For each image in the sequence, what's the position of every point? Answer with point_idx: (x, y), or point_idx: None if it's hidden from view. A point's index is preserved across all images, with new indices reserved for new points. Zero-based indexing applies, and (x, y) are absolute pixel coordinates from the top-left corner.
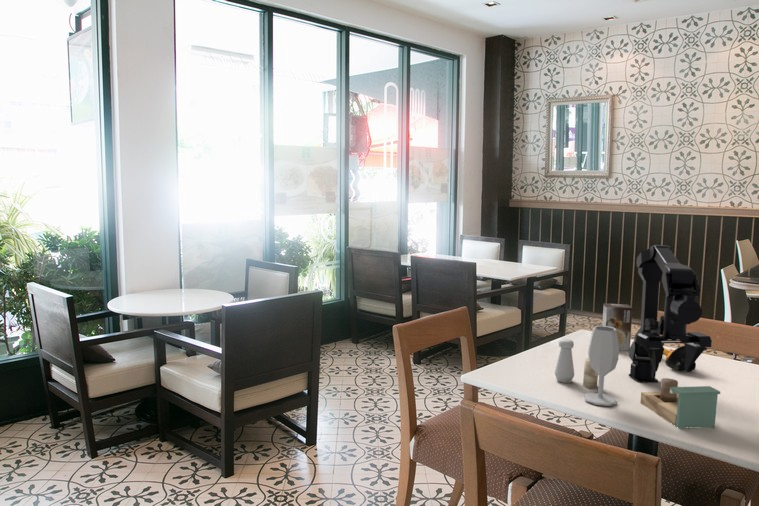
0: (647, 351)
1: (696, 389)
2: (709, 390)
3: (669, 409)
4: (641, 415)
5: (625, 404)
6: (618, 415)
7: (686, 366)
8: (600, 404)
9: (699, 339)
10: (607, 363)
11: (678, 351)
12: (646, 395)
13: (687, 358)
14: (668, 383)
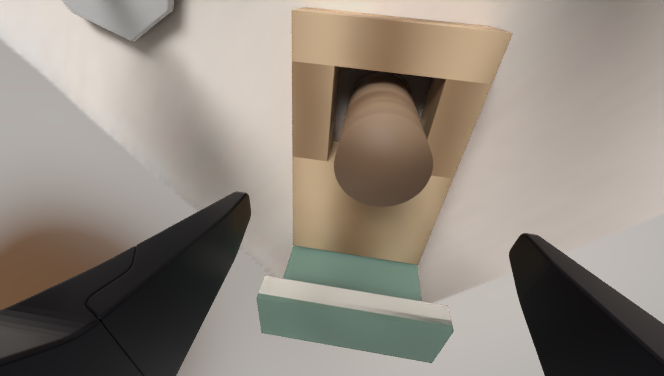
0: (13, 309)
1: (354, 333)
2: (399, 349)
3: (299, 213)
4: (240, 138)
5: (221, 17)
6: (160, 122)
7: (531, 268)
8: (95, 21)
9: None
10: None
11: None
12: (293, 67)
13: (590, 345)
14: (346, 190)
